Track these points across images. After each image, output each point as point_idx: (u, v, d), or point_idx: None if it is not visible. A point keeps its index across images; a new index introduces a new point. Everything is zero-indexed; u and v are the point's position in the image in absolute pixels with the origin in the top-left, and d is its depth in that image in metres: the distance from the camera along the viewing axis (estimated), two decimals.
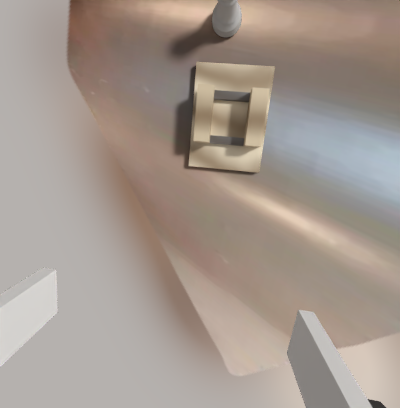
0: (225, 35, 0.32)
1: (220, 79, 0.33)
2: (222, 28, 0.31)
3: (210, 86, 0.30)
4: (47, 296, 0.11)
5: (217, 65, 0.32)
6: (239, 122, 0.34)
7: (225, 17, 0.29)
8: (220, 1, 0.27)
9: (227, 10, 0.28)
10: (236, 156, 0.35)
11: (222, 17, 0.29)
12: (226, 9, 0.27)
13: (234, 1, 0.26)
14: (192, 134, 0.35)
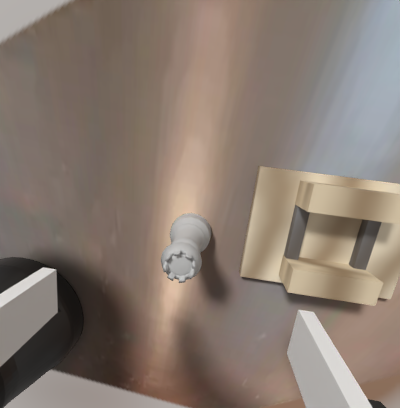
0: (209, 235, 0.23)
1: (267, 245, 0.22)
2: (206, 244, 0.22)
3: (294, 275, 0.19)
4: (47, 296, 0.11)
5: (248, 249, 0.22)
6: (335, 220, 0.21)
7: (200, 246, 0.20)
8: None
9: None
10: (392, 225, 0.21)
11: None
12: None
13: (194, 245, 0.18)
14: None
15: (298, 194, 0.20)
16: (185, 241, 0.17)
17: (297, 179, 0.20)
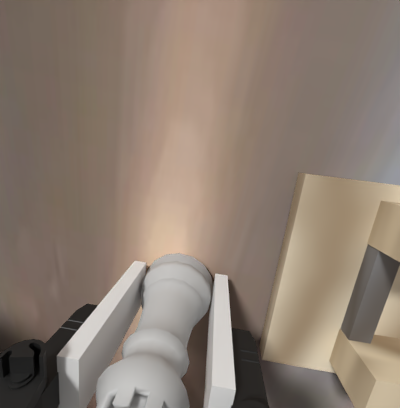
0: None
1: (312, 313, 0.12)
2: (204, 312, 0.12)
3: (378, 390, 0.10)
4: (141, 285, 0.13)
5: (277, 317, 0.13)
6: None
7: (192, 327, 0.10)
8: None
9: (187, 341, 0.09)
10: None
11: None
12: (186, 349, 0.09)
13: (176, 349, 0.08)
14: None
15: (377, 227, 0.11)
16: (155, 340, 0.08)
17: (375, 198, 0.11)
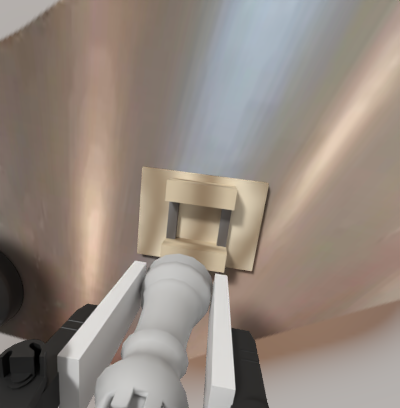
0: (210, 291, 0.13)
1: (154, 228, 0.28)
2: (204, 312, 0.12)
3: (162, 249, 0.25)
4: (141, 285, 0.13)
5: (140, 231, 0.28)
6: (202, 208, 0.27)
7: (192, 327, 0.10)
8: None
9: (186, 342, 0.09)
10: (244, 212, 0.27)
11: None
12: (185, 350, 0.09)
13: (175, 349, 0.08)
14: None
15: None
16: (154, 340, 0.08)
17: (170, 176, 0.27)
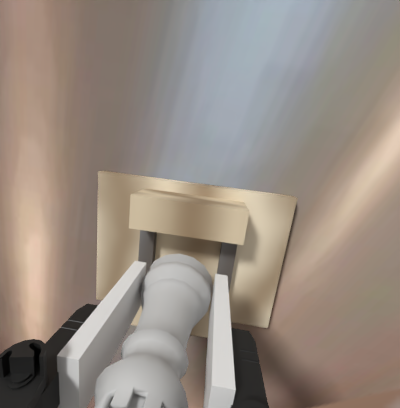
0: None
1: (121, 264, 0.19)
2: (204, 313, 0.12)
3: None
4: (141, 285, 0.13)
5: (100, 268, 0.19)
6: None
7: (192, 327, 0.10)
8: None
9: (186, 342, 0.09)
10: (258, 242, 0.17)
11: (189, 332, 0.11)
12: (185, 350, 0.09)
13: (175, 349, 0.08)
14: None
15: None
16: (154, 340, 0.08)
17: (142, 186, 0.17)
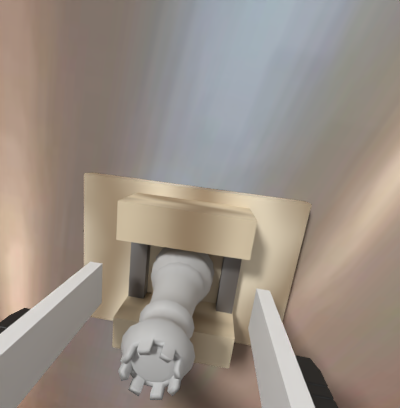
0: (211, 275, 0.15)
1: (111, 277, 0.17)
2: (206, 292, 0.14)
3: (116, 324, 0.14)
4: (95, 287, 0.12)
5: None
6: None
7: (196, 302, 0.12)
8: None
9: (192, 312, 0.11)
10: (265, 254, 0.15)
11: None
12: None
13: (183, 316, 0.10)
14: None
15: None
16: (167, 308, 0.10)
17: (133, 190, 0.15)
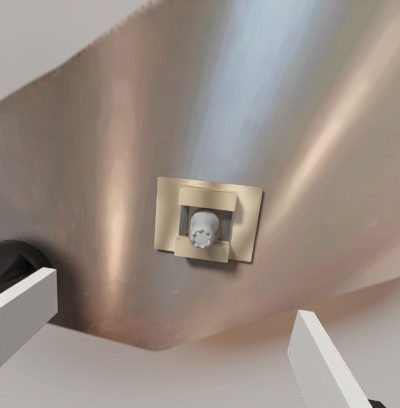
0: (218, 222, 0.32)
1: (168, 227, 0.34)
2: (216, 228, 0.31)
3: (176, 244, 0.31)
4: (47, 296, 0.11)
5: (157, 230, 0.34)
6: None
7: (213, 229, 0.29)
8: None
9: None
10: (243, 213, 0.32)
11: None
12: None
13: (209, 227, 0.27)
14: None
15: None
16: (203, 224, 0.27)
17: (181, 184, 0.32)
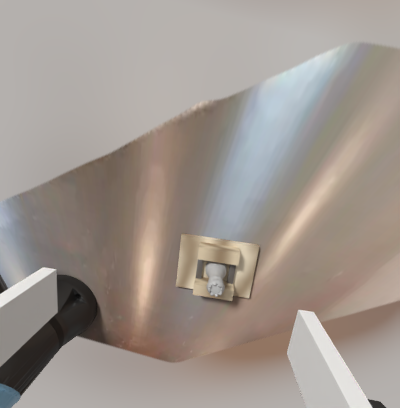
0: (225, 270, 0.43)
1: (188, 271, 0.45)
2: (224, 275, 0.42)
3: (195, 286, 0.42)
4: (47, 296, 0.11)
5: (178, 273, 0.45)
6: None
7: (222, 277, 0.40)
8: None
9: None
10: (244, 263, 0.43)
11: (221, 279, 0.41)
12: None
13: (220, 279, 0.38)
14: None
15: (199, 248, 0.43)
16: (216, 277, 0.38)
17: (198, 241, 0.43)
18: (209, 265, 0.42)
